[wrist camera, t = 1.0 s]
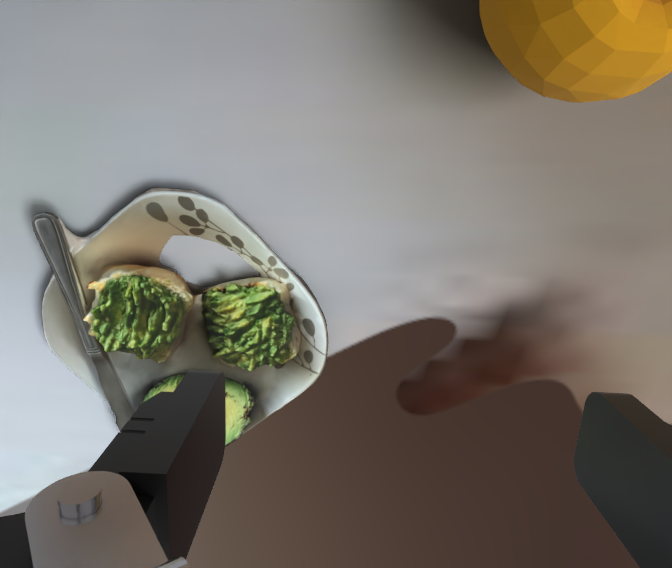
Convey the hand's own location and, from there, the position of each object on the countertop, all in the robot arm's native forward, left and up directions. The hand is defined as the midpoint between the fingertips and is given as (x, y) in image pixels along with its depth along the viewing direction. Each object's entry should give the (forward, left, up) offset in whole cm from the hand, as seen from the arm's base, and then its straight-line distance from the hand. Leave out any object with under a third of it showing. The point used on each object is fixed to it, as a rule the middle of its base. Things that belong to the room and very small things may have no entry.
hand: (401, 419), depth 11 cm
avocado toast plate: (+12, -8, -21) cm, 25 cm away
